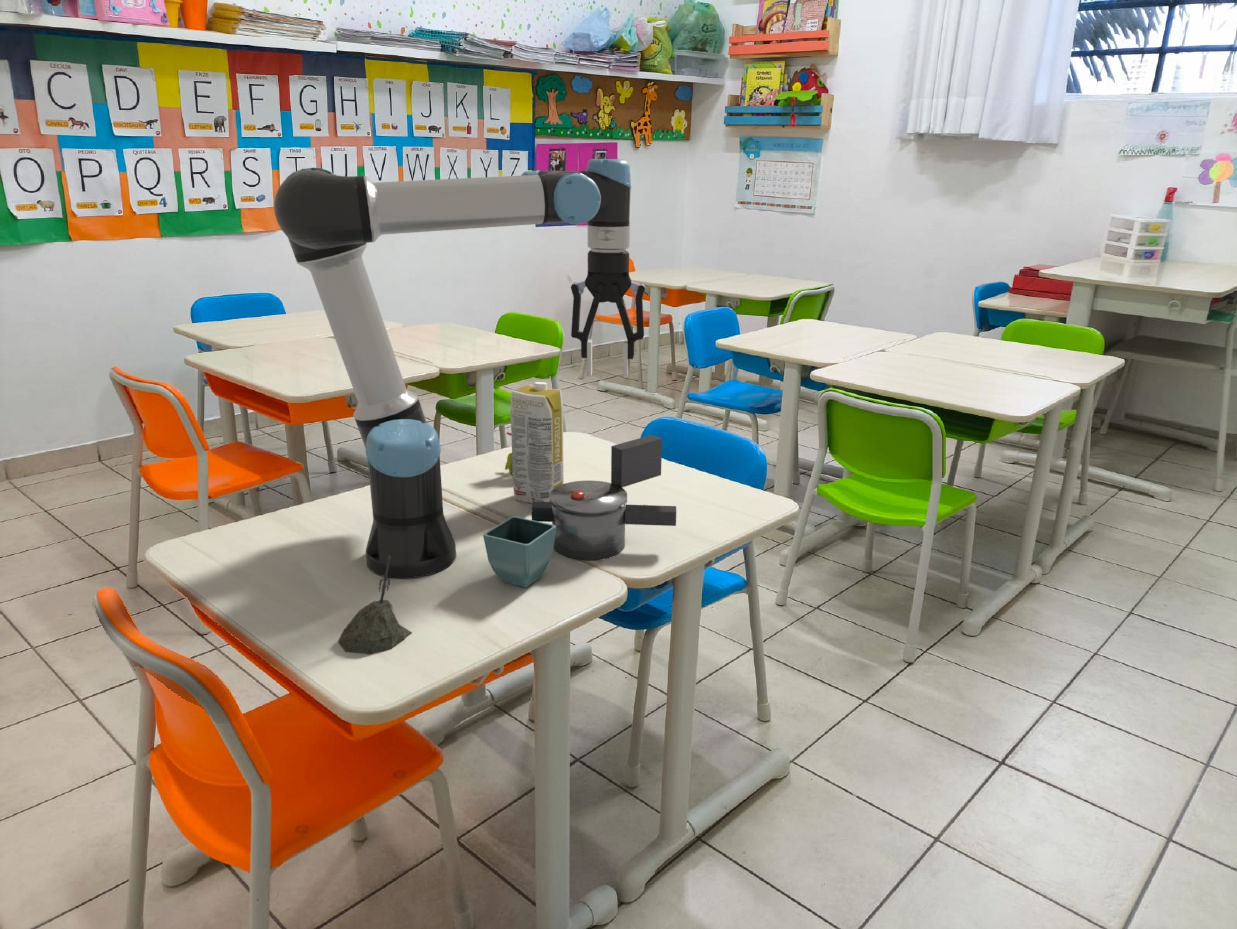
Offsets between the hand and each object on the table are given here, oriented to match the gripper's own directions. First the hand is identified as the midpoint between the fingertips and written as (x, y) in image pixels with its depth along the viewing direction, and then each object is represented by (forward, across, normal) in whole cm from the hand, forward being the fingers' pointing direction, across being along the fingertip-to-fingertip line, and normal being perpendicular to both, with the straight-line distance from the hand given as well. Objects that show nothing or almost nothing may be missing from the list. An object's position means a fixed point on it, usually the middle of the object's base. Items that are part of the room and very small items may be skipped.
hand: (607, 375), depth 165 cm
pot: (+27, +1, -18) cm, 32 cm away
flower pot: (+27, -12, -32) cm, 44 cm away
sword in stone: (+27, -30, -52) cm, 66 cm away
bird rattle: (+27, -19, +17) cm, 37 cm away
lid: (+18, +1, -15) cm, 23 cm away
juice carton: (+27, -14, +3) cm, 31 cm away
